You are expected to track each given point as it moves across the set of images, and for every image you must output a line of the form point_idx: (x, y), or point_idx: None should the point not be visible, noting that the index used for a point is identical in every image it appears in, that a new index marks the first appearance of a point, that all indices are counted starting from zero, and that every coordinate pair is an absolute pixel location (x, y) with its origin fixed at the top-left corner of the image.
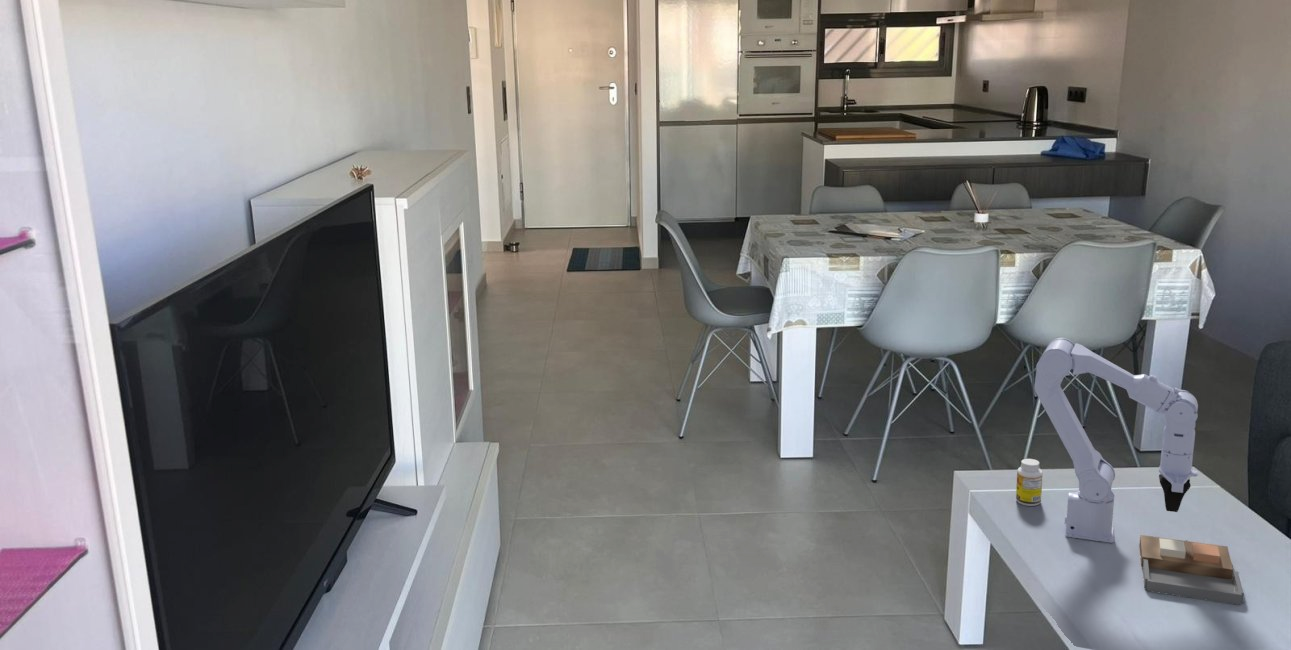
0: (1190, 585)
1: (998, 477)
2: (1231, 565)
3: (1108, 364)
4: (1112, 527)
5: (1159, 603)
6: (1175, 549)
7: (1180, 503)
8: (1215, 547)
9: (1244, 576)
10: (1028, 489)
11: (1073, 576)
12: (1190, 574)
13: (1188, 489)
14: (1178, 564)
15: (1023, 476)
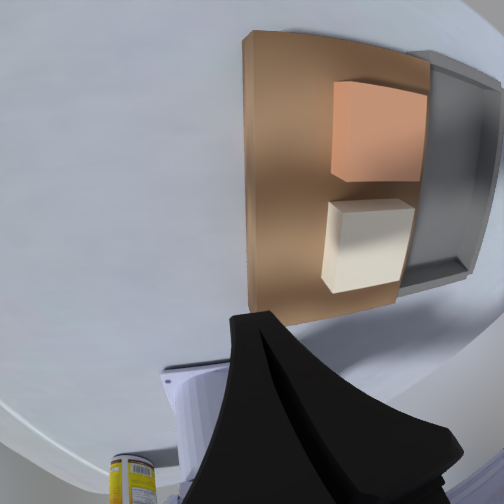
0: (490, 192)
1: (74, 477)
2: (408, 57)
3: None
4: (175, 374)
5: (485, 237)
6: (404, 239)
7: (301, 345)
8: (367, 93)
9: (365, 17)
10: (155, 492)
11: (408, 364)
12: None
13: (438, 426)
14: None
15: None
